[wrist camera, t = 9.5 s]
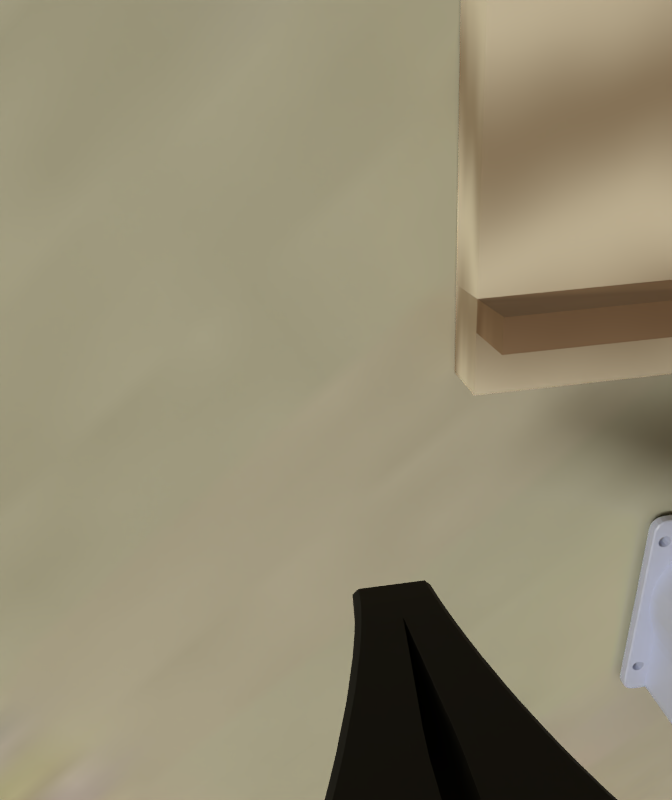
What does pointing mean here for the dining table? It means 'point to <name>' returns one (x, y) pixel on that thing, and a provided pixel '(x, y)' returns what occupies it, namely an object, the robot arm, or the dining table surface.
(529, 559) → the dining table surface
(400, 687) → the robot arm
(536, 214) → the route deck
